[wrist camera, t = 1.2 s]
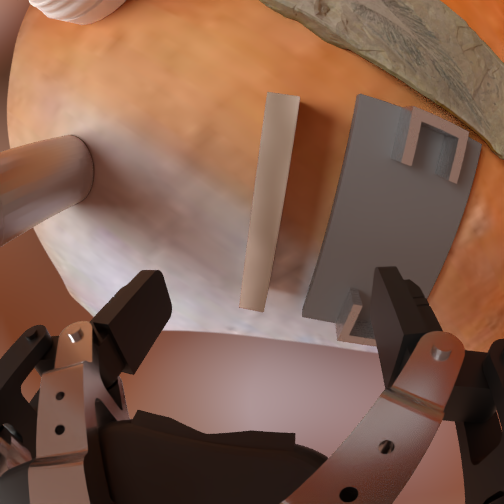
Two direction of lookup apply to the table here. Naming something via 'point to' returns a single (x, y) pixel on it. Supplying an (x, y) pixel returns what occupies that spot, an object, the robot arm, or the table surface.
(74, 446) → the robot arm
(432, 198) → the base board
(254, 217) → the slat
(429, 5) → the stone slab
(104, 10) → the honey pot
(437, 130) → the end caps
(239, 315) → the table surface
